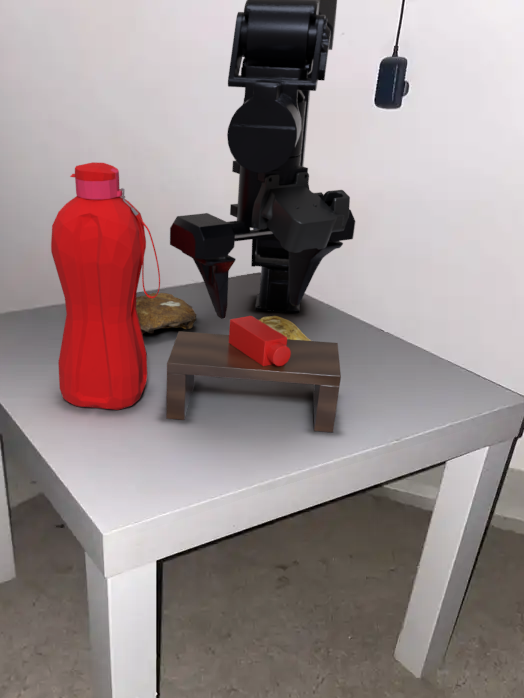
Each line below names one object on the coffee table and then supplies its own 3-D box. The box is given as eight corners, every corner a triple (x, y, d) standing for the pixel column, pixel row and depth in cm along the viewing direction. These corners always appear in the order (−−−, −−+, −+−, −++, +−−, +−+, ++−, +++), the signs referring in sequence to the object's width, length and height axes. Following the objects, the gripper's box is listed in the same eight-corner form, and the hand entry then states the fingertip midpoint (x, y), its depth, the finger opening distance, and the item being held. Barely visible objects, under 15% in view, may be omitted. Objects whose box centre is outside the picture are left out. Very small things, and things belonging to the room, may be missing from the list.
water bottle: (151, 418, 84) (151, 177, 71) (53, 409, 85) (36, 170, 72) (165, 382, 92) (168, 159, 79) (76, 374, 93) (64, 153, 80)
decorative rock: (125, 357, 99) (210, 334, 107) (126, 327, 96) (213, 306, 105) (74, 326, 105) (158, 307, 114) (74, 298, 103) (160, 280, 112)
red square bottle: (228, 343, 85) (229, 319, 84) (249, 339, 87) (251, 315, 85) (269, 371, 79) (271, 345, 78) (291, 366, 81) (294, 341, 79)
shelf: (177, 383, 92) (178, 331, 88) (330, 395, 90) (337, 342, 86) (166, 418, 84) (166, 362, 81) (333, 432, 82) (341, 376, 79)
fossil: (285, 328, 91) (223, 307, 97) (274, 377, 93) (214, 353, 99) (337, 328, 99) (277, 309, 105) (326, 373, 101) (267, 351, 107)
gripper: (230, 176, 63) (221, 353, 71) (404, 161, 71) (378, 322, 79) (168, 153, 71) (166, 314, 80) (329, 142, 79) (312, 290, 87)
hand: (258, 311), depth 81 cm, fingers open, 9 cm apart
